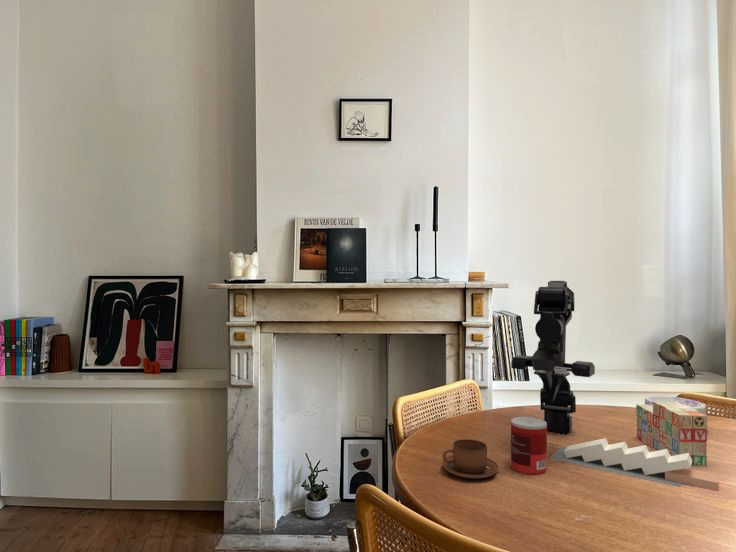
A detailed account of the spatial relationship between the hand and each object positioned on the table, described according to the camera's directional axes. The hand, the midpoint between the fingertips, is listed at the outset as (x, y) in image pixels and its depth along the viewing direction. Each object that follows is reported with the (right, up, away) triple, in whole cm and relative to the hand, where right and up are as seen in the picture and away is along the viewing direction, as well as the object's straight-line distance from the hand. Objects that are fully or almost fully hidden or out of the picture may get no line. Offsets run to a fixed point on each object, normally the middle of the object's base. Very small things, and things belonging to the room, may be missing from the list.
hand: (551, 400), depth 120 cm
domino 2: (+6, -12, -6) cm, 14 cm away
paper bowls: (+44, -14, +22) cm, 51 cm away
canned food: (-10, -13, -12) cm, 20 cm away
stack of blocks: (+30, -14, +1) cm, 33 cm away
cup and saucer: (-23, -13, -13) cm, 29 cm away
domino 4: (+12, -12, -11) cm, 20 cm away
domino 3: (+9, -12, -8) cm, 17 cm away
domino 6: (+19, -11, -15) cm, 27 cm away
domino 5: (+16, -12, -13) cm, 23 cm away
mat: (+11, -13, -9) cm, 19 cm away
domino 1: (+3, -12, -3) cm, 12 cm away
